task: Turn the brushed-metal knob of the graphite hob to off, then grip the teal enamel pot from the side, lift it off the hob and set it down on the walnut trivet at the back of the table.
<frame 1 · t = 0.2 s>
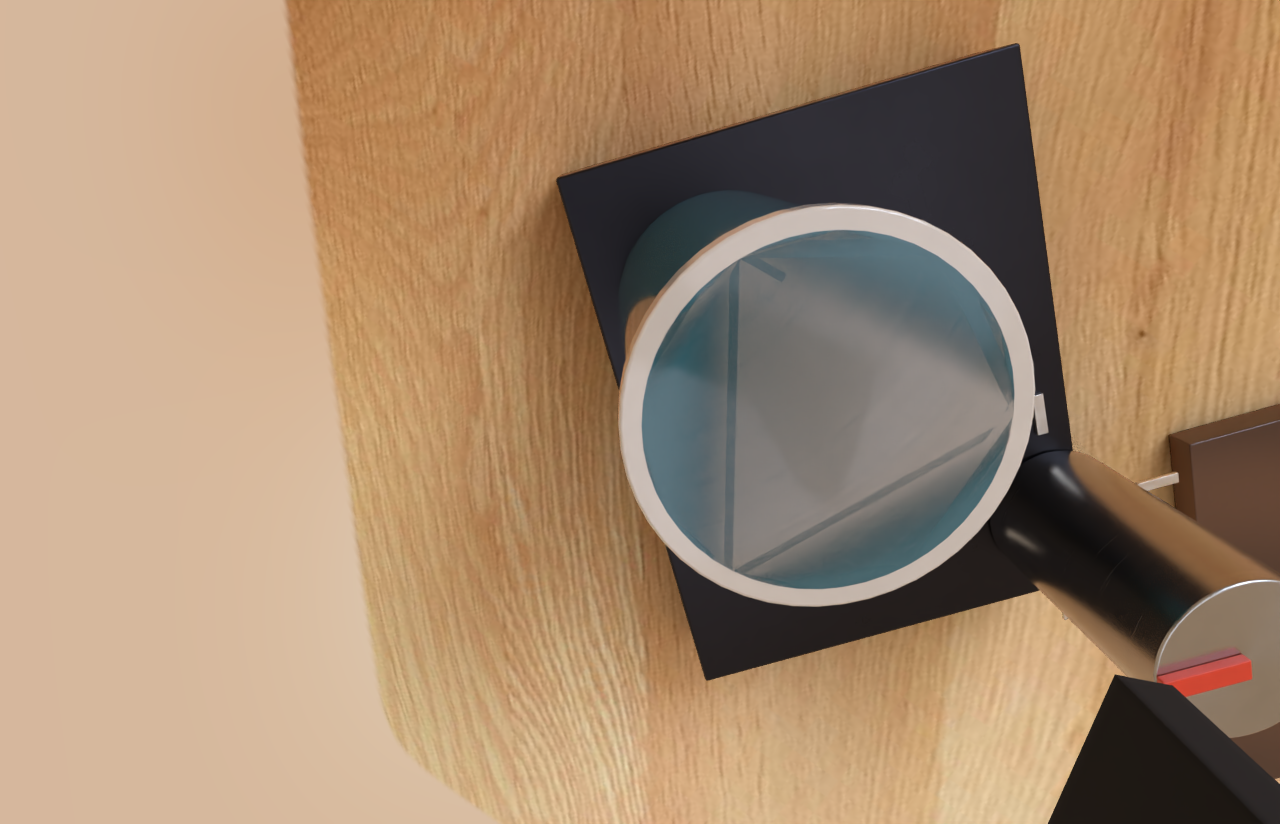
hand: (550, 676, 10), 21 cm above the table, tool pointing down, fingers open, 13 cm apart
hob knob: (1135, 575, 25), point 8 cm above the table, hinge at -90.0°
hob: (822, 372, 30), on the table
pot: (727, 303, 26), point 3 cm above the table, touching hob
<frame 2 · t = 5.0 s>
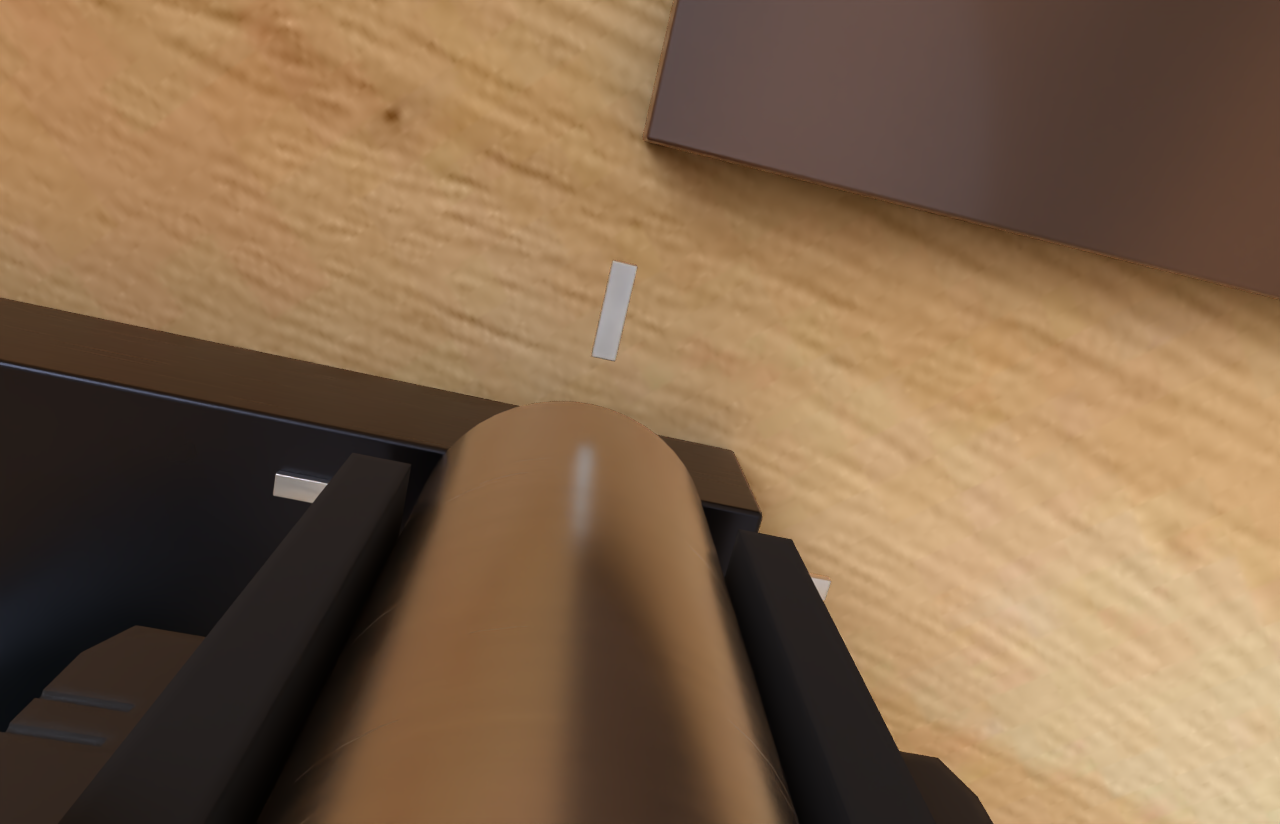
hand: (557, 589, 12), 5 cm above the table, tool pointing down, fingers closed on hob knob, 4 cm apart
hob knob: (545, 734, 9), point 8 cm above the table, hinge at -90.0°, touching gripper
hob: (209, 683, 17), on the table
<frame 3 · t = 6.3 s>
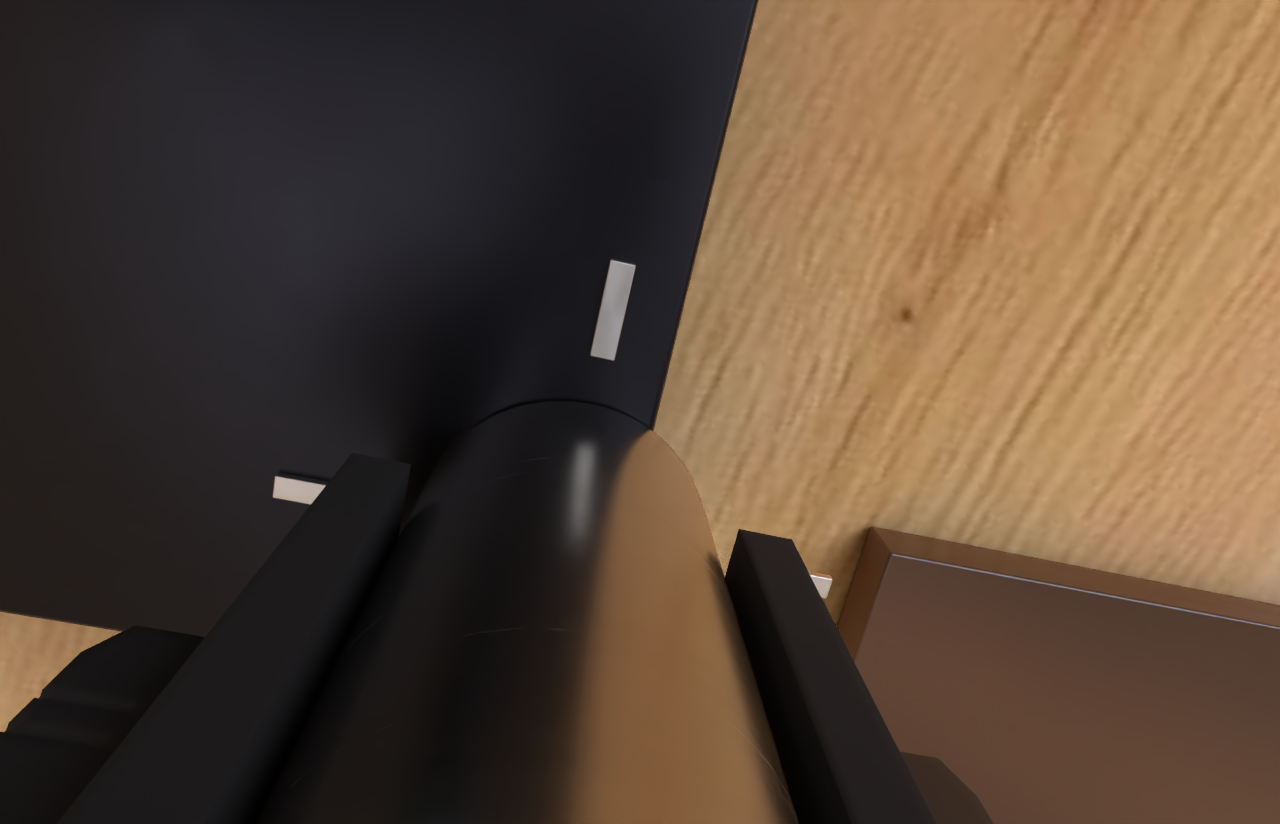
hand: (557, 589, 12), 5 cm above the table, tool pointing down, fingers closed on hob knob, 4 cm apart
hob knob: (545, 735, 9), point 8 cm above the table, hinge at 0.0°, touching gripper
hob: (274, 51, 14), on the table
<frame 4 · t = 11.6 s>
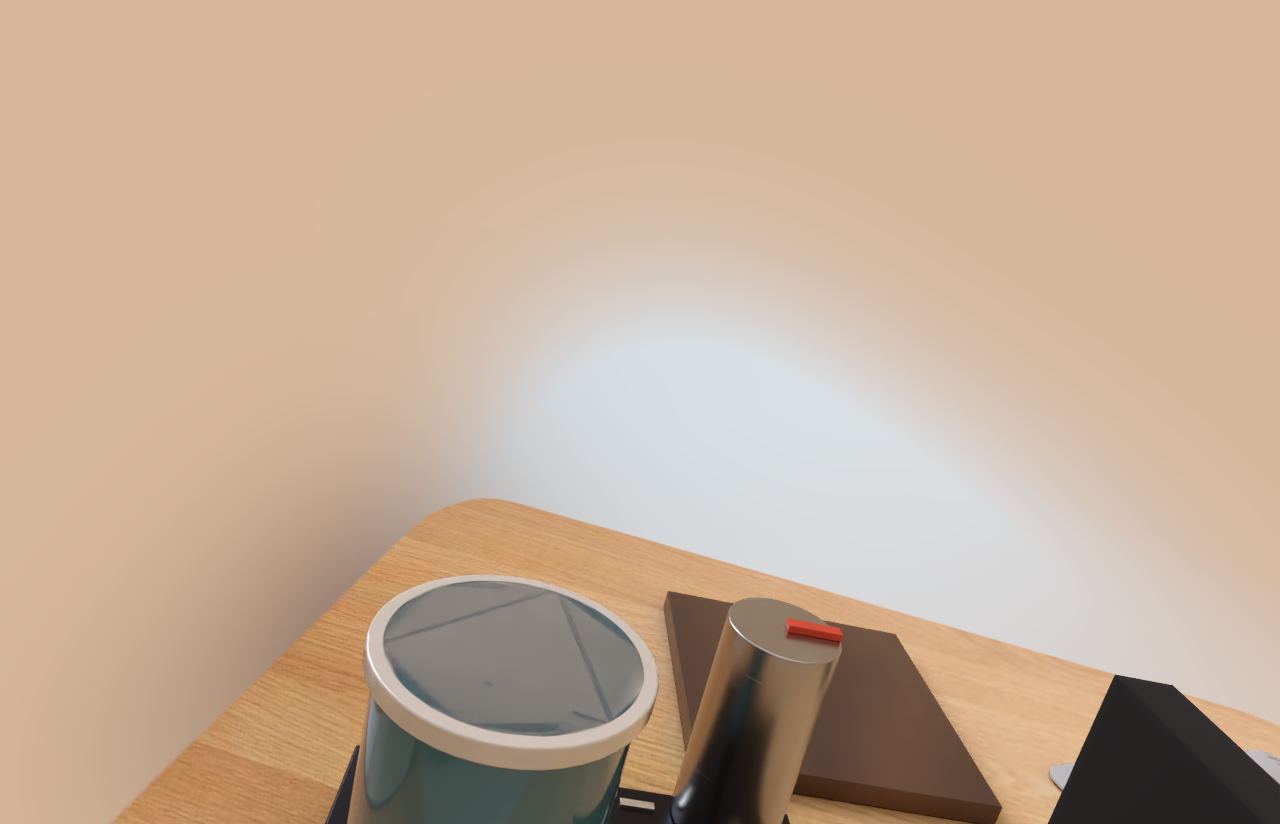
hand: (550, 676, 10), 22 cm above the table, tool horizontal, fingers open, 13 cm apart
fork: (1197, 793, 51), on the table
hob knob: (753, 724, 33), point 8 cm above the table, hinge at -0.1°
trivet: (806, 701, 50), on the table
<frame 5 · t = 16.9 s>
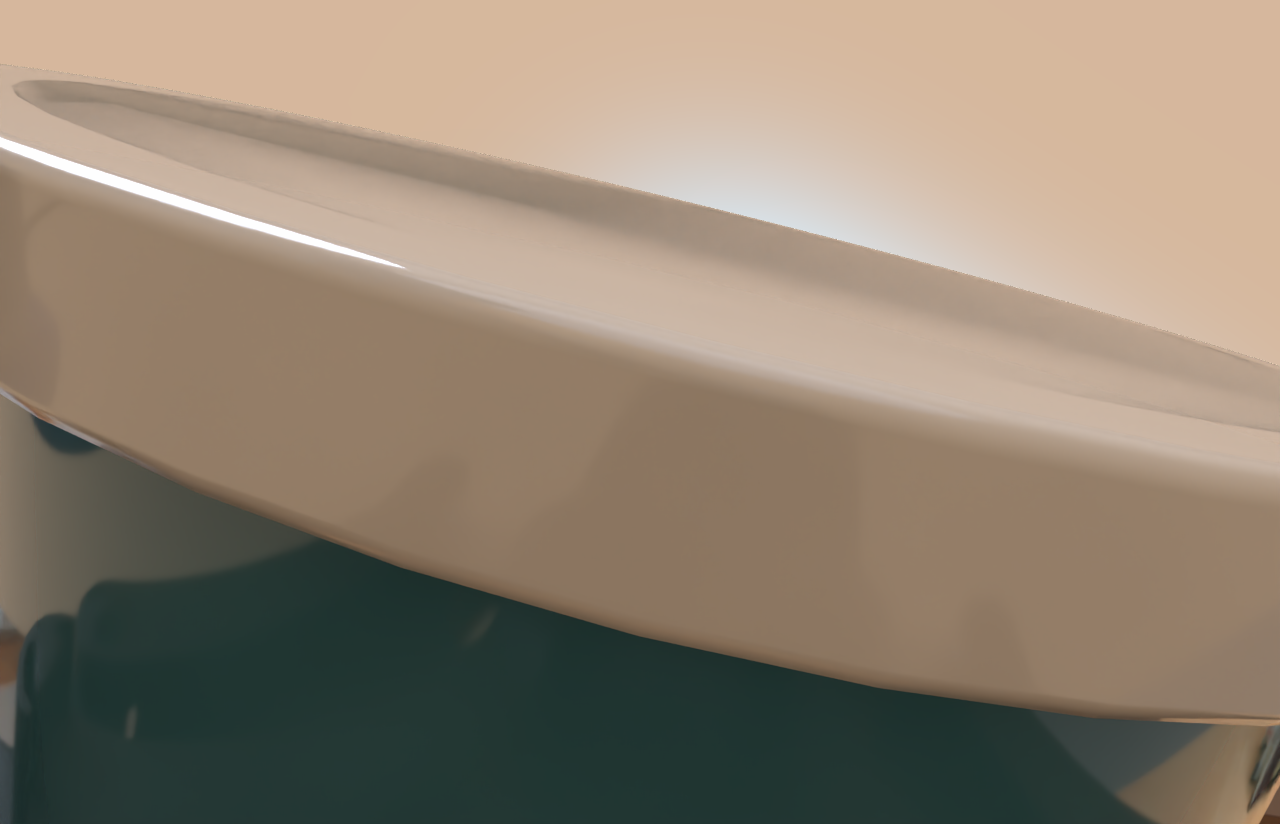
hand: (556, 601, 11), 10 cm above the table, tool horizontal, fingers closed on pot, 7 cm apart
trivet: (981, 666, 33), on the table
when the fingers open (8 cm above the table, at t = 26.4 s): pot stays where it is, resting on trivet.
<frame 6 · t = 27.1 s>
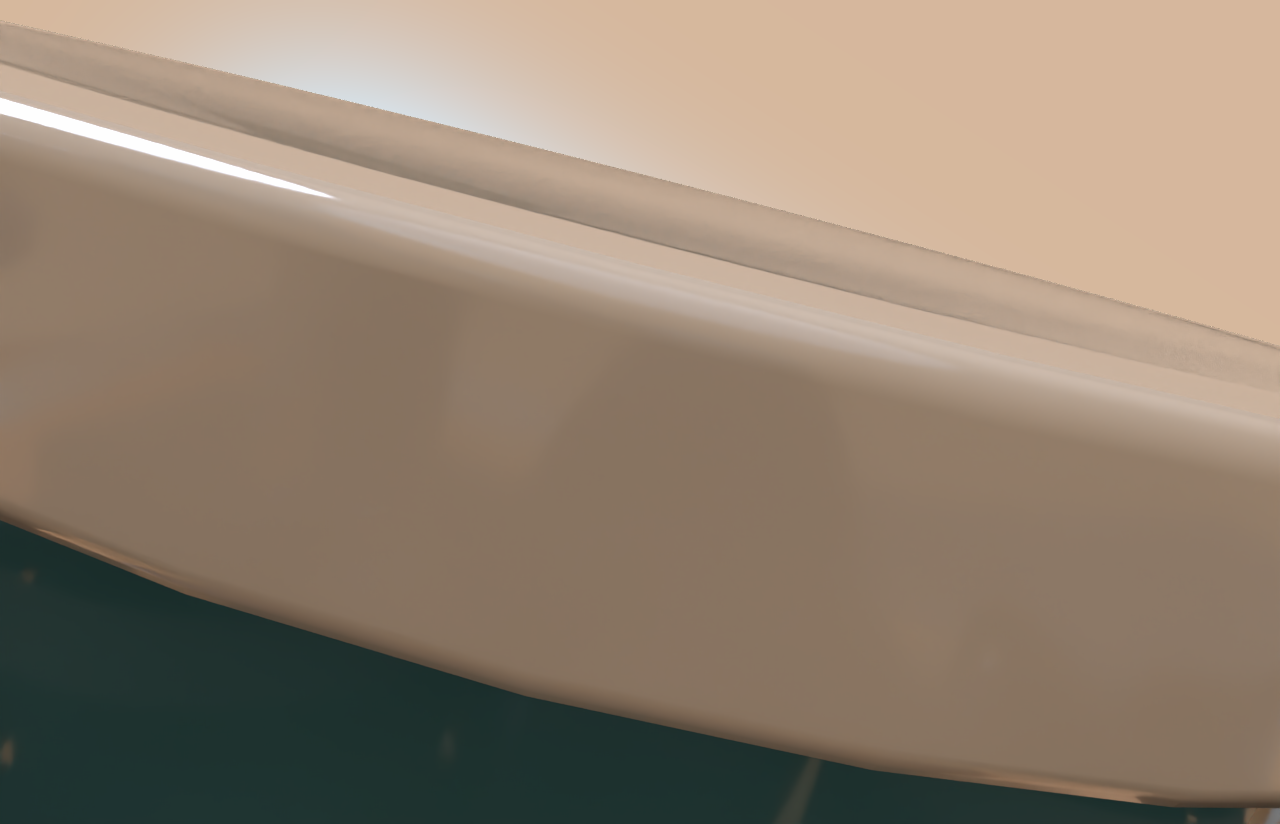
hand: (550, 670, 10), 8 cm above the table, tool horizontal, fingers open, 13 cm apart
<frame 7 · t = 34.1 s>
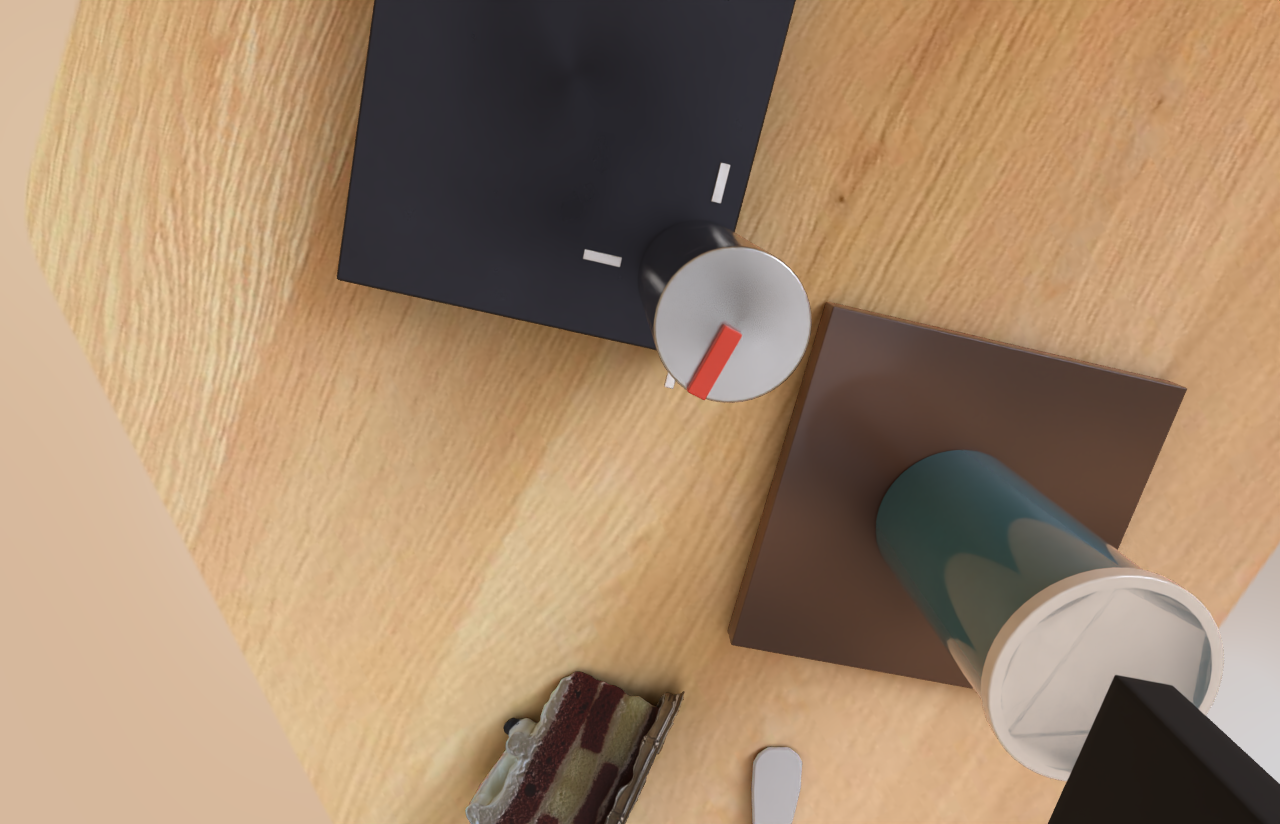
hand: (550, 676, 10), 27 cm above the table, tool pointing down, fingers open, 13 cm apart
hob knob: (712, 300, 28), point 8 cm above the table, hinge at -15.2°
hob: (574, 79, 33), on the table
trivet: (941, 510, 39), on the table
pot: (950, 521, 38), point 1 cm above the table, touching trivet
chocolate cake: (567, 748, 42), on the table
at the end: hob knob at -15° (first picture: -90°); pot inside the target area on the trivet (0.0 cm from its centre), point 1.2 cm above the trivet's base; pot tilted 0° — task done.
